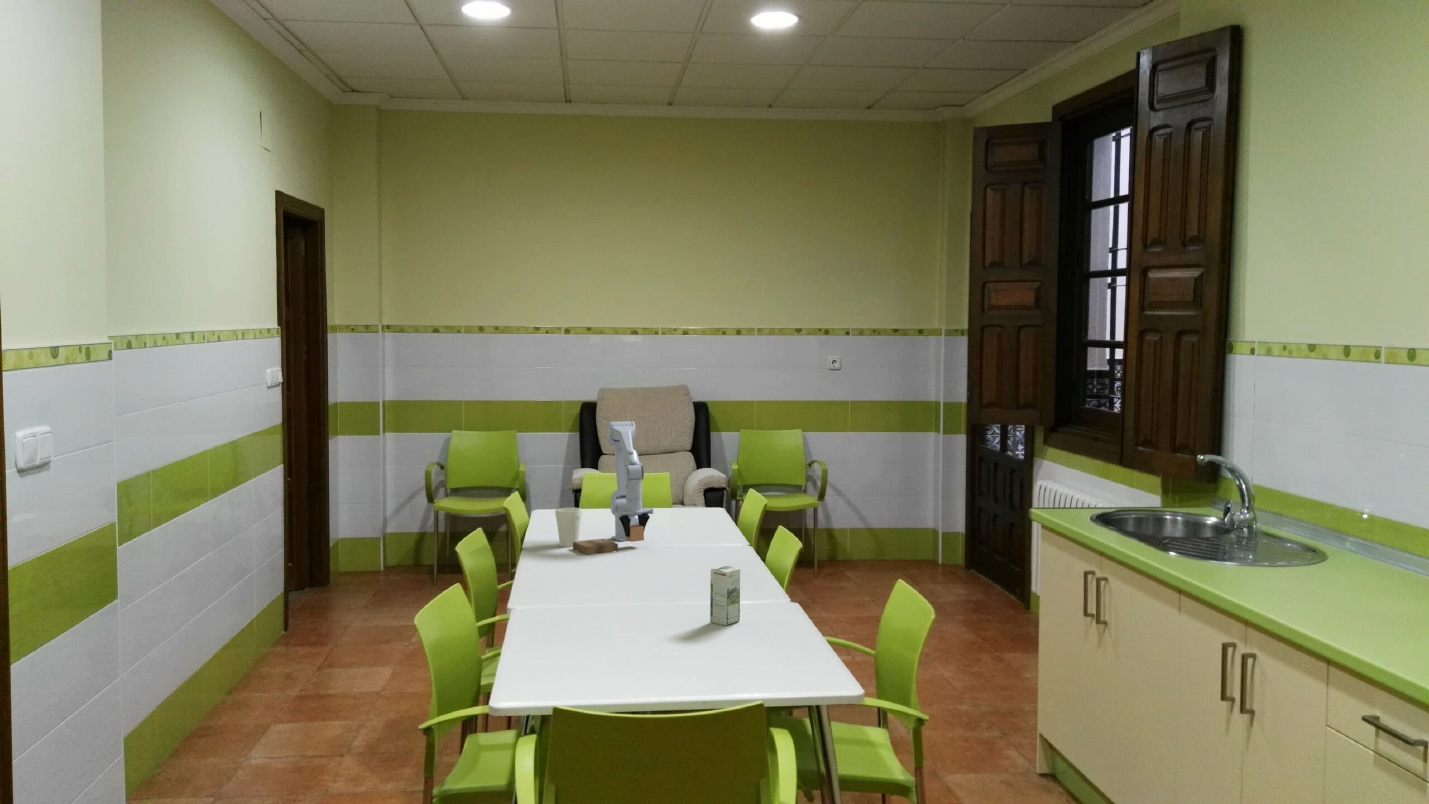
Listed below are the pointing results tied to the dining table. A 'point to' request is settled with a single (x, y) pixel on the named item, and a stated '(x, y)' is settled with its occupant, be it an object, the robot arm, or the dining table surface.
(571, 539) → the foam cup
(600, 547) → the walnut plinth
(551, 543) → the dining table surface
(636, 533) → the terracotta block
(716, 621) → the syrup box
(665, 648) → the dining table surface
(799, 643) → the dining table surface
